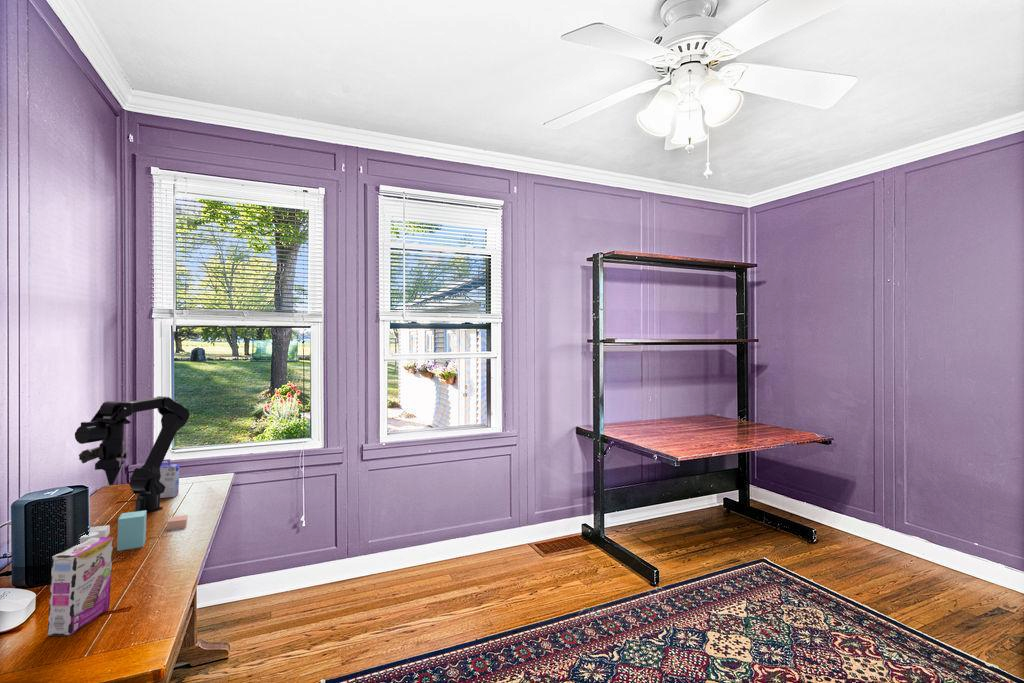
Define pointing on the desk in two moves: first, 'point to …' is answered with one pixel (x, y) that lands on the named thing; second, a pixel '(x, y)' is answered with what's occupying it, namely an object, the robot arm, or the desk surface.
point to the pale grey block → (101, 530)
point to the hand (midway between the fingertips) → (111, 484)
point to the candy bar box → (79, 585)
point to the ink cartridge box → (169, 479)
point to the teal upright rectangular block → (131, 530)
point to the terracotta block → (177, 522)
